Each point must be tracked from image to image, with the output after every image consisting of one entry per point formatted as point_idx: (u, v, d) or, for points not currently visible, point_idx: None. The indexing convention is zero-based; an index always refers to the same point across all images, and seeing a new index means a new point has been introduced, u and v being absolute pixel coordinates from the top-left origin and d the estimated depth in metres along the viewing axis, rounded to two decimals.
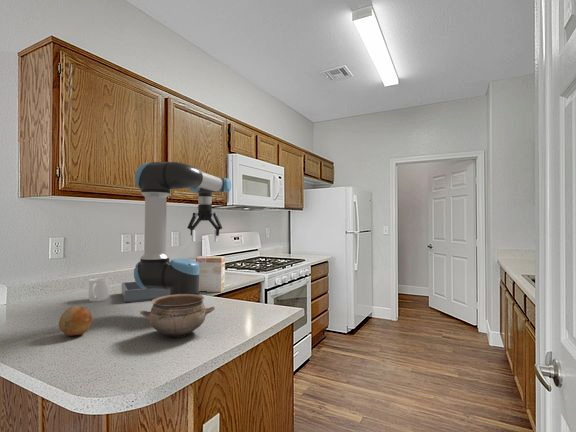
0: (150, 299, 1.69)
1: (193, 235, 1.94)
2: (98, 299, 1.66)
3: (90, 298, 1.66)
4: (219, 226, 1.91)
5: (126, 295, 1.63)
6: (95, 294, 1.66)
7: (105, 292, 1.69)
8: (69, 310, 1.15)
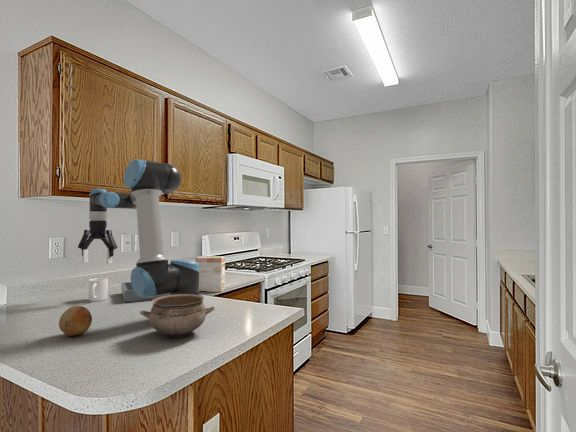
0: (150, 299, 1.69)
1: (84, 256, 1.68)
2: (98, 299, 1.66)
3: (90, 298, 1.66)
4: (112, 246, 1.65)
5: (126, 295, 1.63)
6: (95, 294, 1.66)
7: (105, 292, 1.69)
8: (69, 310, 1.15)
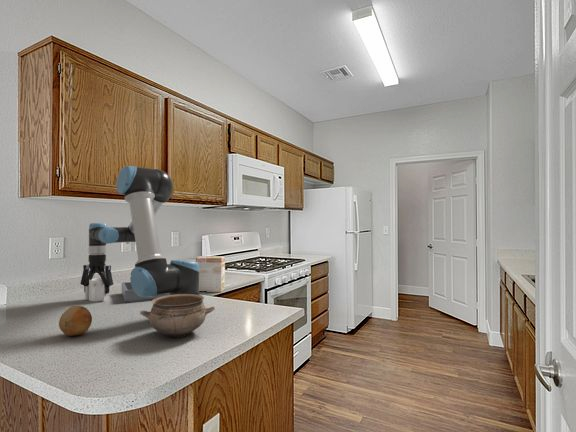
0: (150, 299, 1.69)
1: (87, 292, 1.68)
2: (98, 299, 1.66)
3: (90, 298, 1.66)
4: (108, 283, 1.65)
5: (126, 295, 1.63)
6: (95, 294, 1.66)
7: None
8: (69, 310, 1.15)
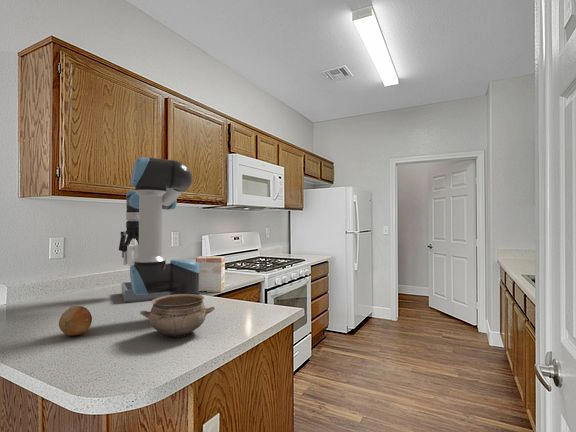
0: (150, 299, 1.69)
1: (125, 258, 1.76)
2: None
3: (128, 262, 1.74)
4: None
5: (126, 295, 1.63)
6: (133, 258, 1.74)
7: None
8: (69, 310, 1.15)
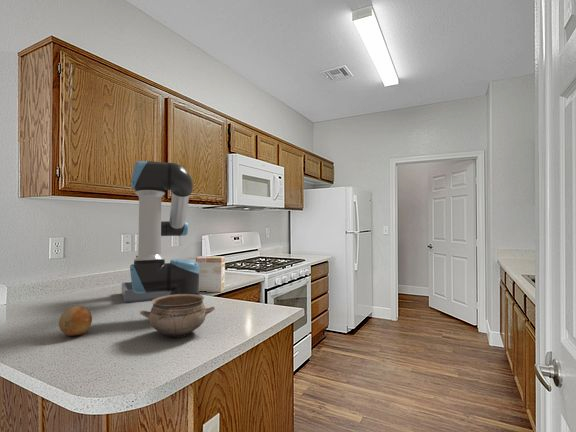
0: (150, 299, 1.69)
1: None
2: None
3: None
4: None
5: (126, 295, 1.63)
6: None
7: None
8: (69, 310, 1.15)
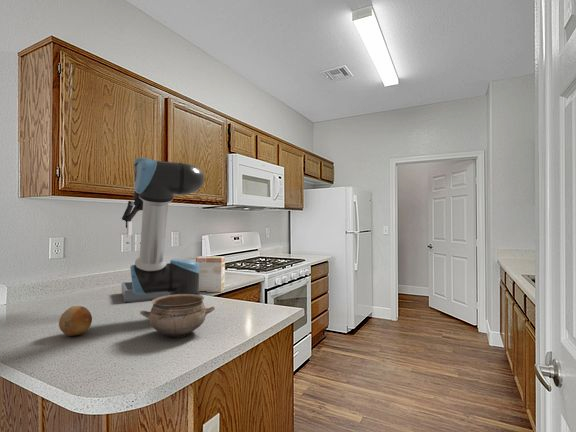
0: (150, 299, 1.69)
1: (128, 228, 1.63)
2: None
3: None
4: None
5: (126, 295, 1.63)
6: None
7: None
8: (69, 310, 1.15)
